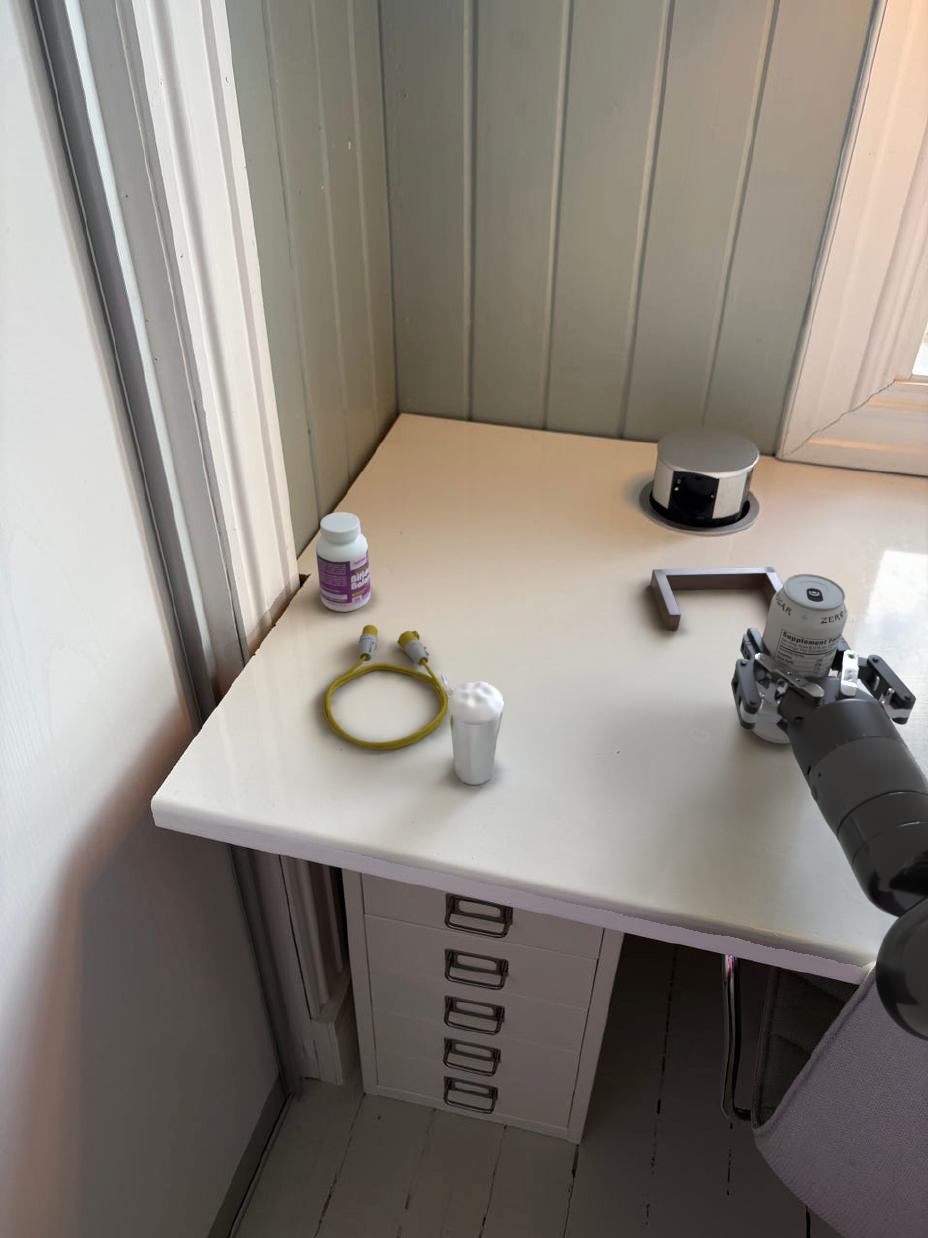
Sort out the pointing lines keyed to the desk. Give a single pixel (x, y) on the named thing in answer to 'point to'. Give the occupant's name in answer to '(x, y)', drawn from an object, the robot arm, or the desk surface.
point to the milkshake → (474, 729)
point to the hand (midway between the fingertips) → (786, 635)
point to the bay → (707, 585)
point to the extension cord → (413, 650)
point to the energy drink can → (803, 632)
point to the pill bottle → (343, 563)
